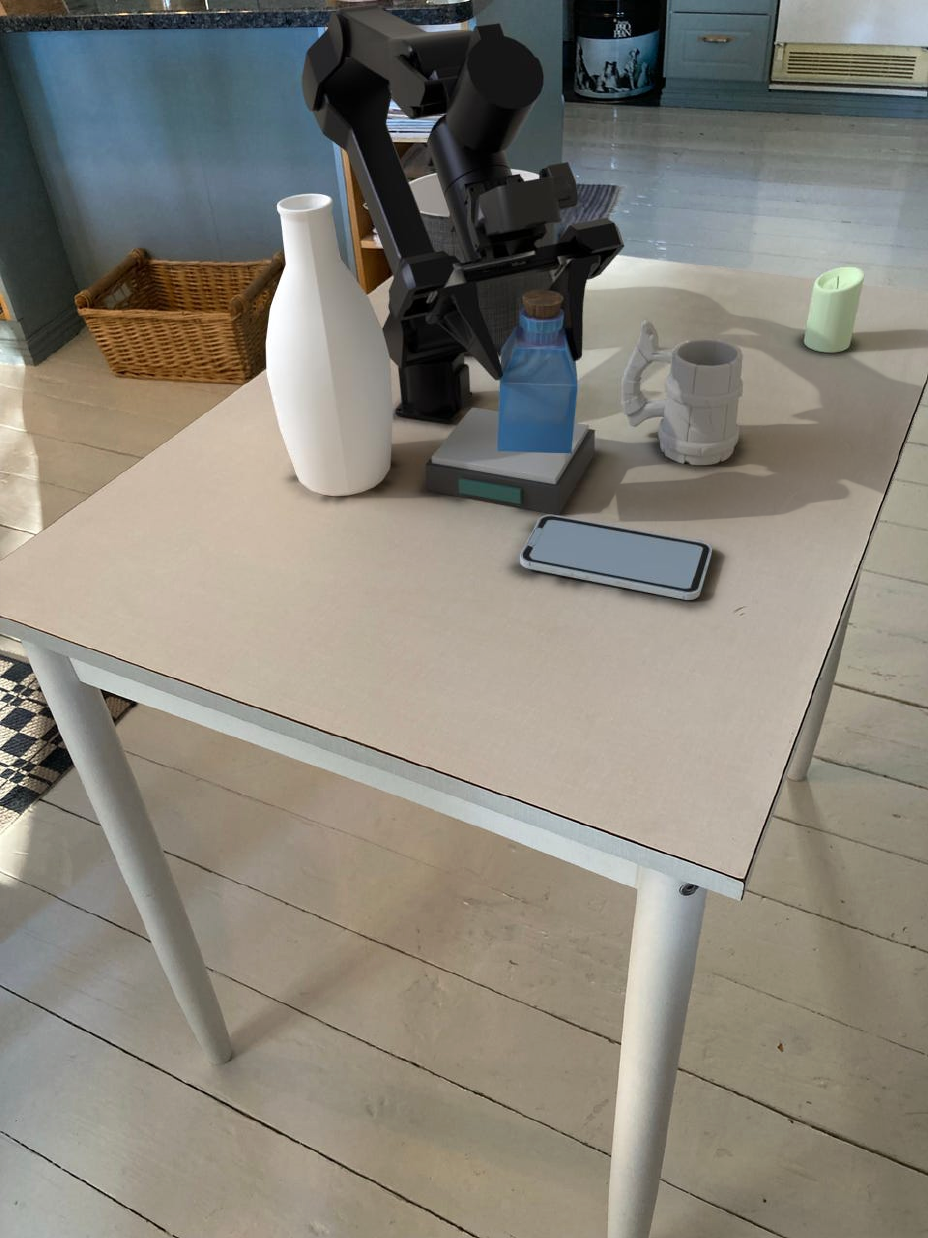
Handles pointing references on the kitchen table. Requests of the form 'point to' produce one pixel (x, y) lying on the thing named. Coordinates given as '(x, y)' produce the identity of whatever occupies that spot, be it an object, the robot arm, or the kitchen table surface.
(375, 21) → the robot arm
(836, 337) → the candle
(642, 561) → the smartphone
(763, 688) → the kitchen table surface
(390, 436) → the bottle
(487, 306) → the planter
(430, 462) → the scale
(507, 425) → the perfume bottle
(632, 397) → the mug
